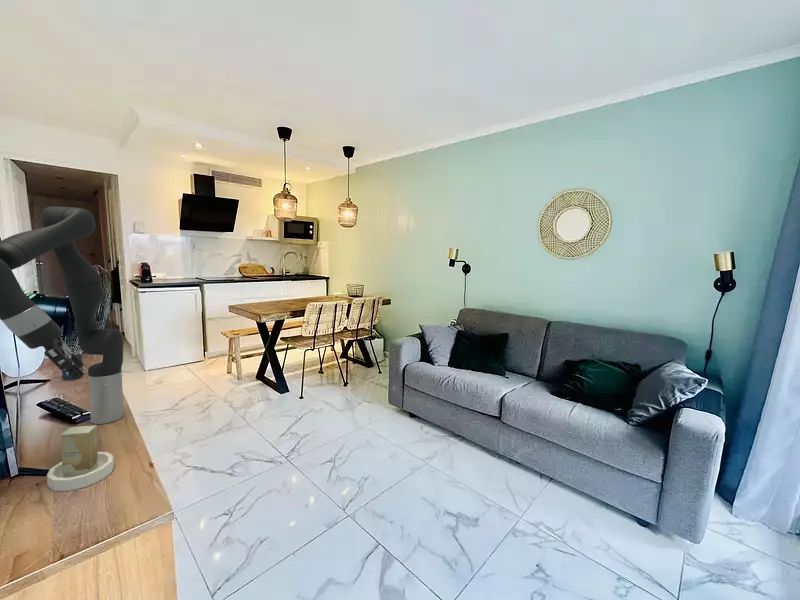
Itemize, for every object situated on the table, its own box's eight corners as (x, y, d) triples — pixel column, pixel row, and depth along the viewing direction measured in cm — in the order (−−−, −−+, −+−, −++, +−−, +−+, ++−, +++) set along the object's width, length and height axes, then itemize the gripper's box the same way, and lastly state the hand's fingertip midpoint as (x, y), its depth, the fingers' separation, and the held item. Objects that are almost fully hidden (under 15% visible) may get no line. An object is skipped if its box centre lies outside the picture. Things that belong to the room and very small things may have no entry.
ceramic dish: (39, 480, 93) (38, 470, 92) (98, 456, 104) (98, 447, 104) (62, 497, 87) (61, 486, 87) (122, 470, 99) (122, 460, 98)
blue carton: (66, 376, 165) (64, 352, 164) (85, 375, 168) (83, 351, 167) (59, 381, 159) (57, 356, 158) (79, 380, 162) (77, 355, 161)
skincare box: (62, 478, 93) (58, 434, 91) (71, 468, 97) (68, 426, 95) (91, 474, 95) (88, 432, 93) (99, 465, 99) (97, 424, 97)
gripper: (49, 323, 87) (96, 371, 95) (51, 312, 97) (94, 356, 105) (11, 342, 83) (64, 389, 91) (18, 328, 93) (65, 372, 101)
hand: (80, 371), depth 98 cm, fingers open, 8 cm apart
